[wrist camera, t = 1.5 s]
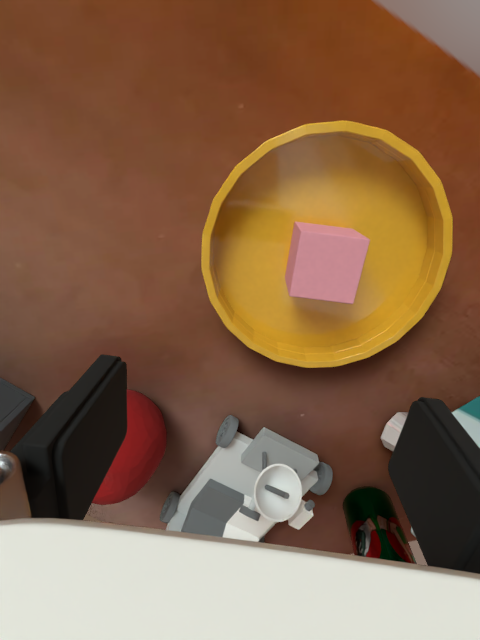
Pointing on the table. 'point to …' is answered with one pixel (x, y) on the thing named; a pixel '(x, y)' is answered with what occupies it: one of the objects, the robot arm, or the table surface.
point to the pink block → (325, 262)
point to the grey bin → (11, 410)
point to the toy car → (248, 487)
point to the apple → (135, 451)
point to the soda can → (375, 526)
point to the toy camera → (472, 416)
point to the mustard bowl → (332, 210)
